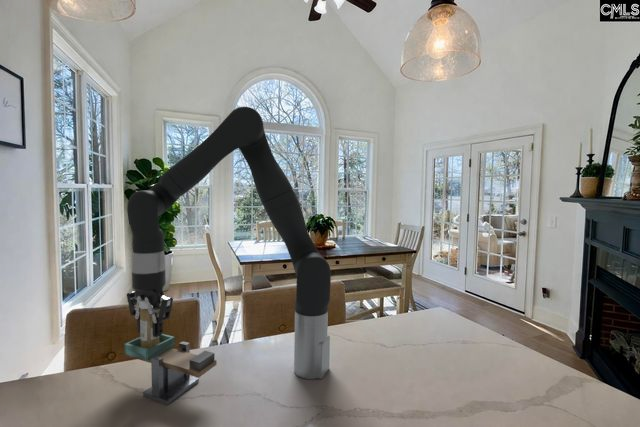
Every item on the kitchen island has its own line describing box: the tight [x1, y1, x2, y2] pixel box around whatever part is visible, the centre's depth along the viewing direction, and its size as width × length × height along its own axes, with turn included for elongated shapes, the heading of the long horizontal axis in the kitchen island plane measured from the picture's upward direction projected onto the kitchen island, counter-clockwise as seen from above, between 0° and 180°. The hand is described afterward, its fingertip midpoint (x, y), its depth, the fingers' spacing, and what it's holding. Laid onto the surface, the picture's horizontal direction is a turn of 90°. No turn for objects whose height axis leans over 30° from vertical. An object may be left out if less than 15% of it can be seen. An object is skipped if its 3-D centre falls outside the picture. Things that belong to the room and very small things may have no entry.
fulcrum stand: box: [142, 341, 200, 406], centre depth 80 cm, size 8×10×10 cm
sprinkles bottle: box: [139, 300, 159, 349], centre depth 82 cm, size 5×5×13 cm
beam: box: [123, 333, 217, 378], centre depth 80 cm, size 23×8×4 cm, turn 68°
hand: (149, 333), depth 83 cm, fingers open, 5 cm apart
